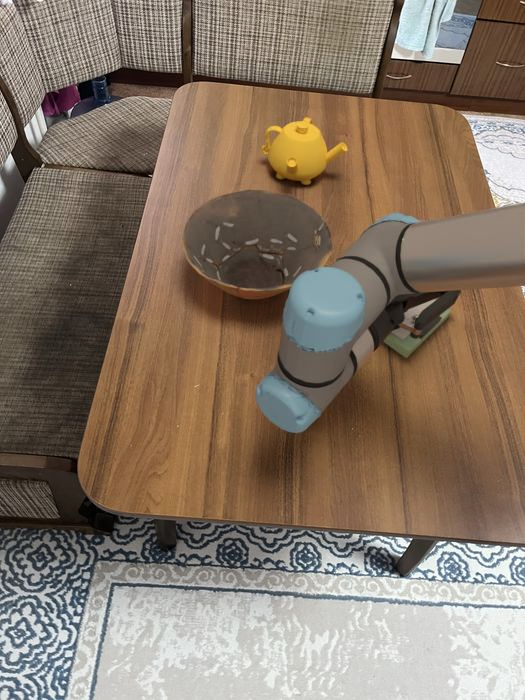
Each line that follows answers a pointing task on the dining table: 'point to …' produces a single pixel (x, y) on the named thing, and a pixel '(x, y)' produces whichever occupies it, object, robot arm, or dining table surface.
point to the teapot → (299, 151)
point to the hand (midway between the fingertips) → (434, 242)
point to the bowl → (255, 242)
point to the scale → (402, 338)
